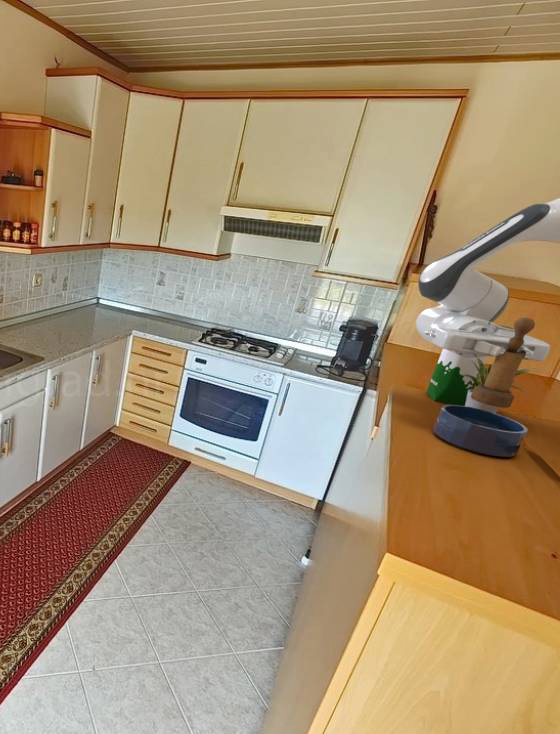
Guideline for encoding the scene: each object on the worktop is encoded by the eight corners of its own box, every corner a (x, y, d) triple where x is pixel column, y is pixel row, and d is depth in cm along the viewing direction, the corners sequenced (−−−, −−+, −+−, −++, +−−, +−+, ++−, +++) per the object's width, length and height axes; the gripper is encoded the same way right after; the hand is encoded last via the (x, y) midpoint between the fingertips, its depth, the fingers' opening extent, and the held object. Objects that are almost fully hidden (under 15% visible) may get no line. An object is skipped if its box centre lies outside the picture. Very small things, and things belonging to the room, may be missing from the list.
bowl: (503, 440, 109) (514, 416, 107) (525, 466, 97) (538, 439, 95) (426, 423, 115) (436, 399, 112) (438, 445, 103) (449, 419, 101)
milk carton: (421, 391, 138) (447, 322, 131) (458, 398, 135) (488, 328, 129) (431, 401, 130) (460, 329, 123) (472, 409, 128) (504, 335, 121)
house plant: (524, 437, 112) (557, 370, 106) (450, 420, 118) (477, 355, 112) (508, 418, 123) (537, 357, 118) (442, 403, 130) (466, 344, 124)
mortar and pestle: (466, 393, 106) (500, 312, 100) (503, 400, 104) (541, 318, 98) (475, 402, 101) (513, 317, 94) (515, 410, 98) (556, 324, 92)
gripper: (426, 317, 111) (465, 332, 98) (524, 329, 108) (577, 345, 96) (416, 344, 113) (453, 362, 100) (511, 356, 111) (562, 375, 98)
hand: (515, 354), depth 98 cm, fingers closed on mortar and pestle, 4 cm apart
